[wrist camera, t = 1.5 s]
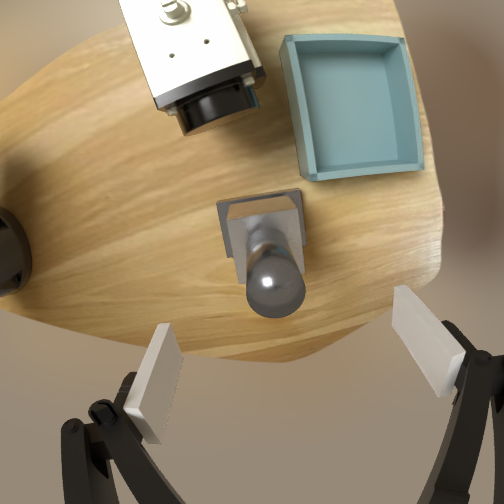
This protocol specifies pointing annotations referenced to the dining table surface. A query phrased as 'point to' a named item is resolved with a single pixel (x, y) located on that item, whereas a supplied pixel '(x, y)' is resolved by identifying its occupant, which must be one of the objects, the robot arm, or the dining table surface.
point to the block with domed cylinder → (268, 254)
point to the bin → (351, 105)
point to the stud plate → (225, 204)
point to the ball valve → (196, 59)
